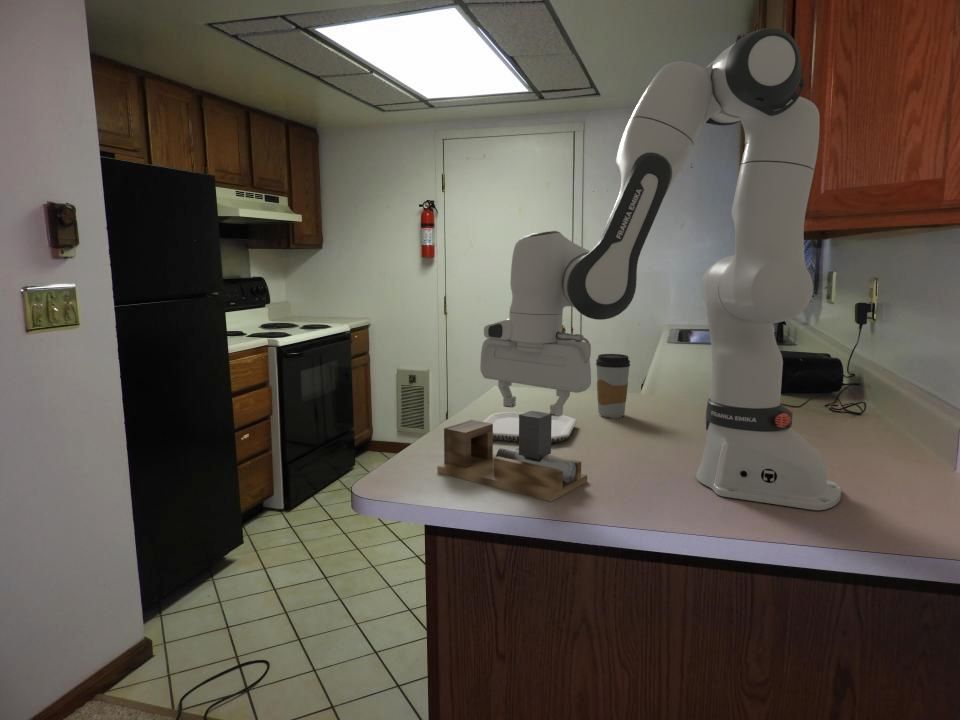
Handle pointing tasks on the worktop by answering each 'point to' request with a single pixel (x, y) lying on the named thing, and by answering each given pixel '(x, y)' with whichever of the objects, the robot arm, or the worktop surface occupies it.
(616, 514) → the worktop surface
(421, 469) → the worktop surface
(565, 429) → the plate
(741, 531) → the worktop surface
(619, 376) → the coffee cup
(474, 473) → the cradle
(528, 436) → the grey mallet
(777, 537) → the worktop surface
